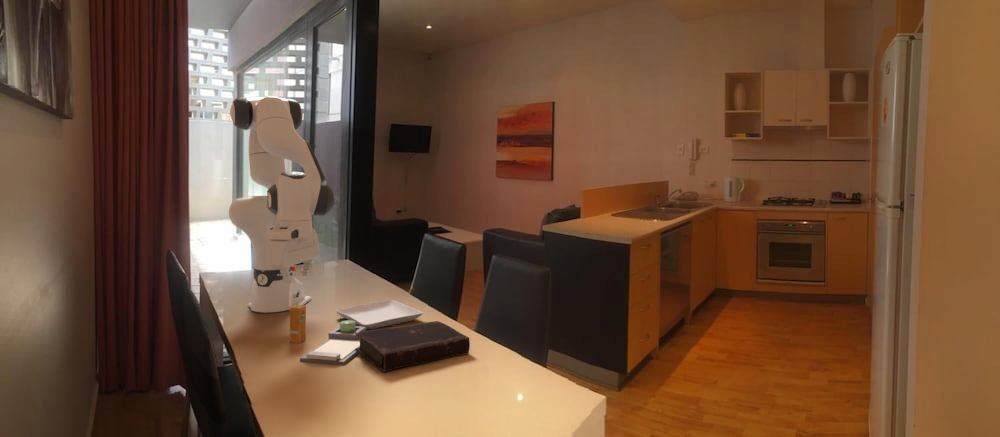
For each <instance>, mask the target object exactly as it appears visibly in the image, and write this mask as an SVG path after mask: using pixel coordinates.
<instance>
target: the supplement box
mask: <svg viewBox="0 0 1000 437" xmlns="http://www.w3.org/2000/svg"><path fill="white" fill-rule="evenodd" d="M306 312H307V306H306V305H295V306H293V307H291V308H290V310H289V342H290V343H297V344H298V343H301V342H303V341H305V340H306V329H307V328H306V325H307V324H306V321H307V320H306V319H307V318H306V315H307V314H306Z"/></svg>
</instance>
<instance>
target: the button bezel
mask: <svg viewBox="0 0 1000 437" xmlns="http://www.w3.org/2000/svg"><path fill="white" fill-rule="evenodd" d="M364 331H367V329H366V327H361V326H360V325H356V331H355V332H354V333H341V332H340V325H339V326H338V327H336V328H334V329H333V330H331V331H330V332H328V334H327V335H328V336H327V337H328V340H329V339H343V340H356V341H359V340H360V337H359V336H357V335H356V334H355V333H358V332H364Z"/></svg>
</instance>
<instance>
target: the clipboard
mask: <svg viewBox="0 0 1000 437" xmlns="http://www.w3.org/2000/svg"><path fill="white" fill-rule="evenodd" d="M356 348H360V340H357V341H356V340H343V339H329V338H328V339H327V340H326V341H324V342H322V343H321V344H319V345H318V346H316V347H314V348H313V349H312V350H309V352H306V354H304V355H302V356H301V357H299V362H305V363H307V362H308V363H319V364H328V365H329V364H331V365H342V366H343V365H345V364H347V363H349V361H351V360H352V359H353V358H354V357H355V356H357V355H358V354H360V353H359V352H357V351H356V350H355V349H356Z"/></svg>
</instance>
